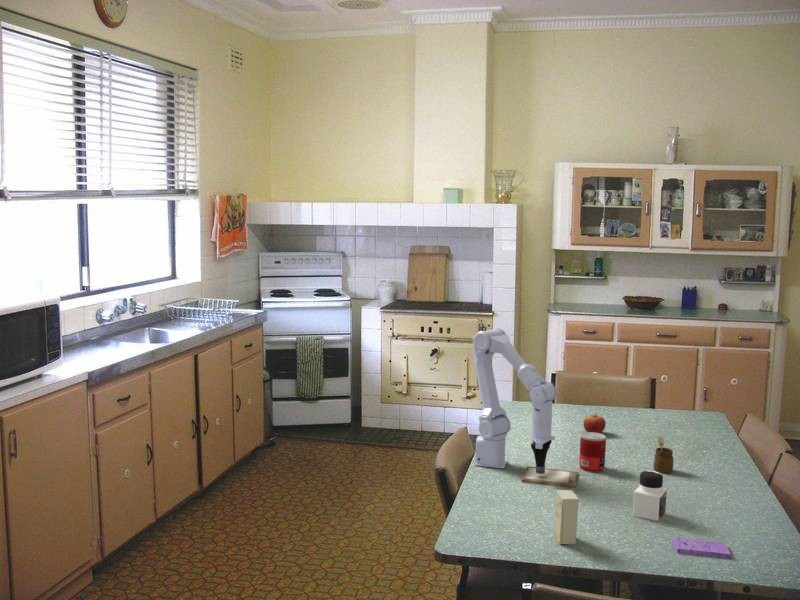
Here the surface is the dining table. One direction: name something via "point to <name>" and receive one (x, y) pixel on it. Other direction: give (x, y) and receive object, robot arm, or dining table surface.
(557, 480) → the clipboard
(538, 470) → the blue cylindrical bottle
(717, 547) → the sponges
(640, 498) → the medicine bottle
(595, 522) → the dining table surface
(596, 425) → the apple
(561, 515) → the skincare box
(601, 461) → the canned food
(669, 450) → the utensil holder
